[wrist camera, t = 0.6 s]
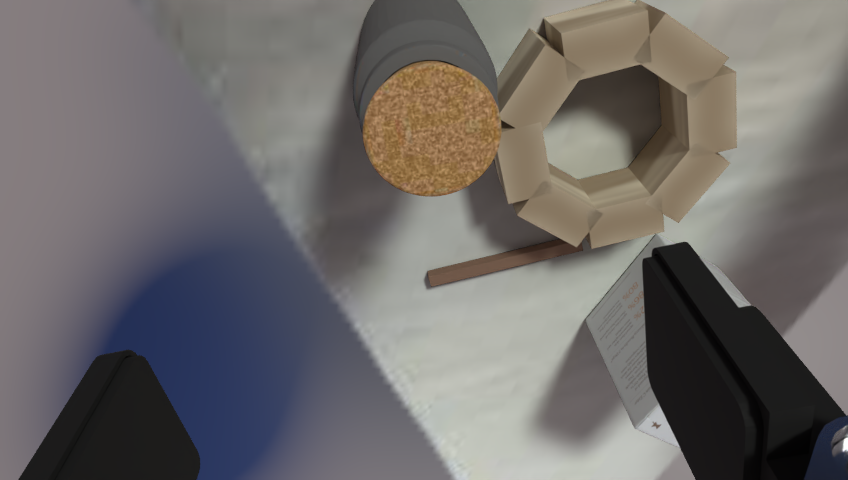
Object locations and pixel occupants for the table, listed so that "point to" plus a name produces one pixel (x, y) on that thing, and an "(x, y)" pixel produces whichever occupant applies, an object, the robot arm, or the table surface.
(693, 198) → the segmented wooden ring
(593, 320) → the small box
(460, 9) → the bottle
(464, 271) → the brown wooden stick
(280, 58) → the table surface
